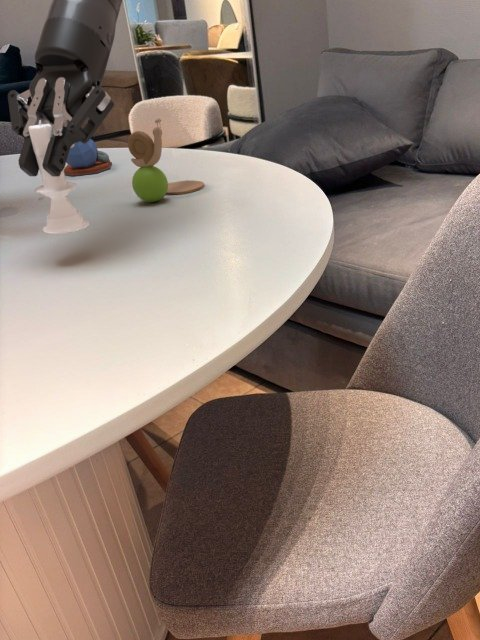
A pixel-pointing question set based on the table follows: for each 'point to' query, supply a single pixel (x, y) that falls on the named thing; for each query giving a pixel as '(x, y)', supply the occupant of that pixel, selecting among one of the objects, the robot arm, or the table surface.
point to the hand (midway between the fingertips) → (39, 171)
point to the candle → (55, 188)
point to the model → (86, 160)
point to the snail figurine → (148, 165)
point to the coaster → (184, 187)
